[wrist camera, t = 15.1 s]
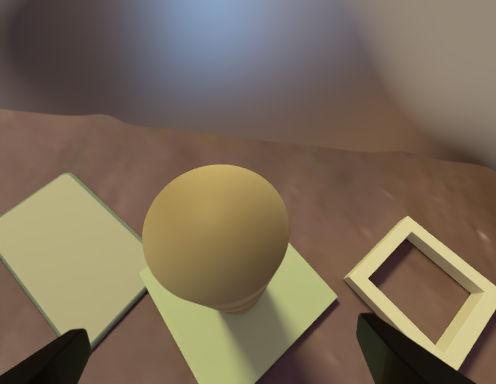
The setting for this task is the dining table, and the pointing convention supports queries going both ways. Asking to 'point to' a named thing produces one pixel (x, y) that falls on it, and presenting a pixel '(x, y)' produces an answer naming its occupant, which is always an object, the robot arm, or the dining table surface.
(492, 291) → the cream rectangular frame
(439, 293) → the dining table surface
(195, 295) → the tan dome-topped cylinder
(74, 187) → the sticky note pad
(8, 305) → the dining table surface
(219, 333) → the mat
